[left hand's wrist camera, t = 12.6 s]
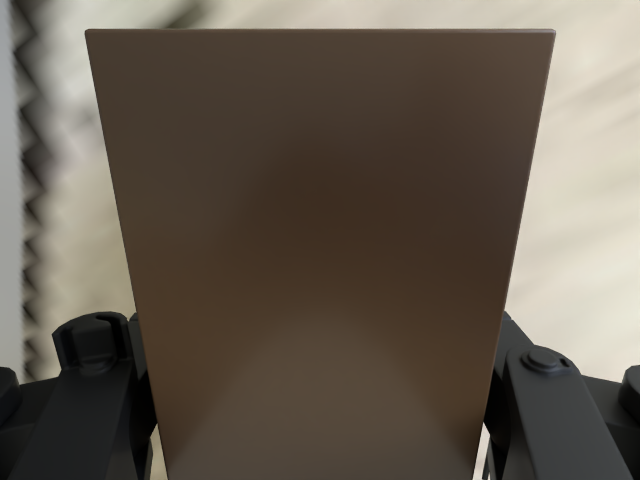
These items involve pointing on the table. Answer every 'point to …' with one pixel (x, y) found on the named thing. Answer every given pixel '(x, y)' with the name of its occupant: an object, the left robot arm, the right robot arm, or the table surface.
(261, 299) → the beam
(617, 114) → the table surface
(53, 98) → the table surface
